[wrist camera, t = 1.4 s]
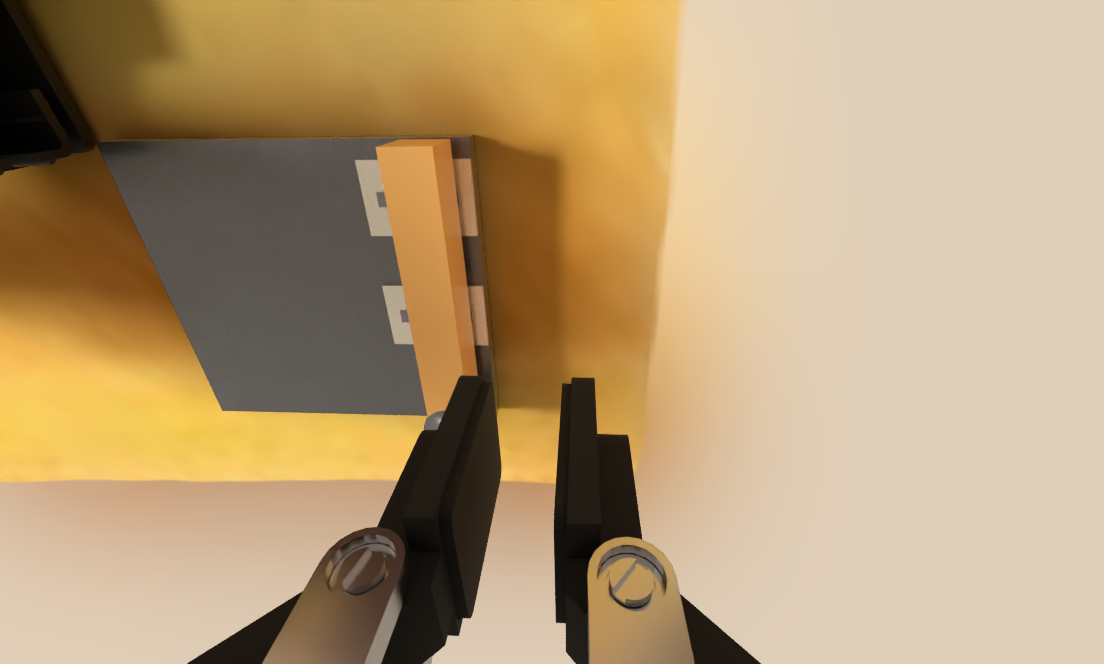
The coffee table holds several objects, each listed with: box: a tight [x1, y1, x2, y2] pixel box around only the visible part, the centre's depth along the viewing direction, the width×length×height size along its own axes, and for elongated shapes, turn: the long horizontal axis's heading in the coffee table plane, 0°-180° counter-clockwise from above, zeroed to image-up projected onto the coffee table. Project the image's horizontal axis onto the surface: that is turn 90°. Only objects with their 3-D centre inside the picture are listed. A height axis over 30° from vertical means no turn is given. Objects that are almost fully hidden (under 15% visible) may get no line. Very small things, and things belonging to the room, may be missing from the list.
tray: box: [96, 135, 499, 416], centre depth 28 cm, size 20×18×2 cm
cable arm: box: [376, 139, 478, 430], centre depth 25 cm, size 18×3×3 cm, turn 1°
